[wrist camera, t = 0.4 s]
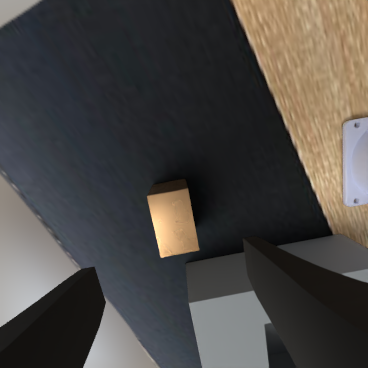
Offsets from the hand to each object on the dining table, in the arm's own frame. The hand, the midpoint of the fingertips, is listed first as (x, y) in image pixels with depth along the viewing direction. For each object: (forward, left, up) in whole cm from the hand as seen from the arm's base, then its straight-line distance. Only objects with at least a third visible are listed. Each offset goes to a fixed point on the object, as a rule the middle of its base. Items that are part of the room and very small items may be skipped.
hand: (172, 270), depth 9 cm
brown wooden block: (0, 0, -10) cm, 10 cm away
